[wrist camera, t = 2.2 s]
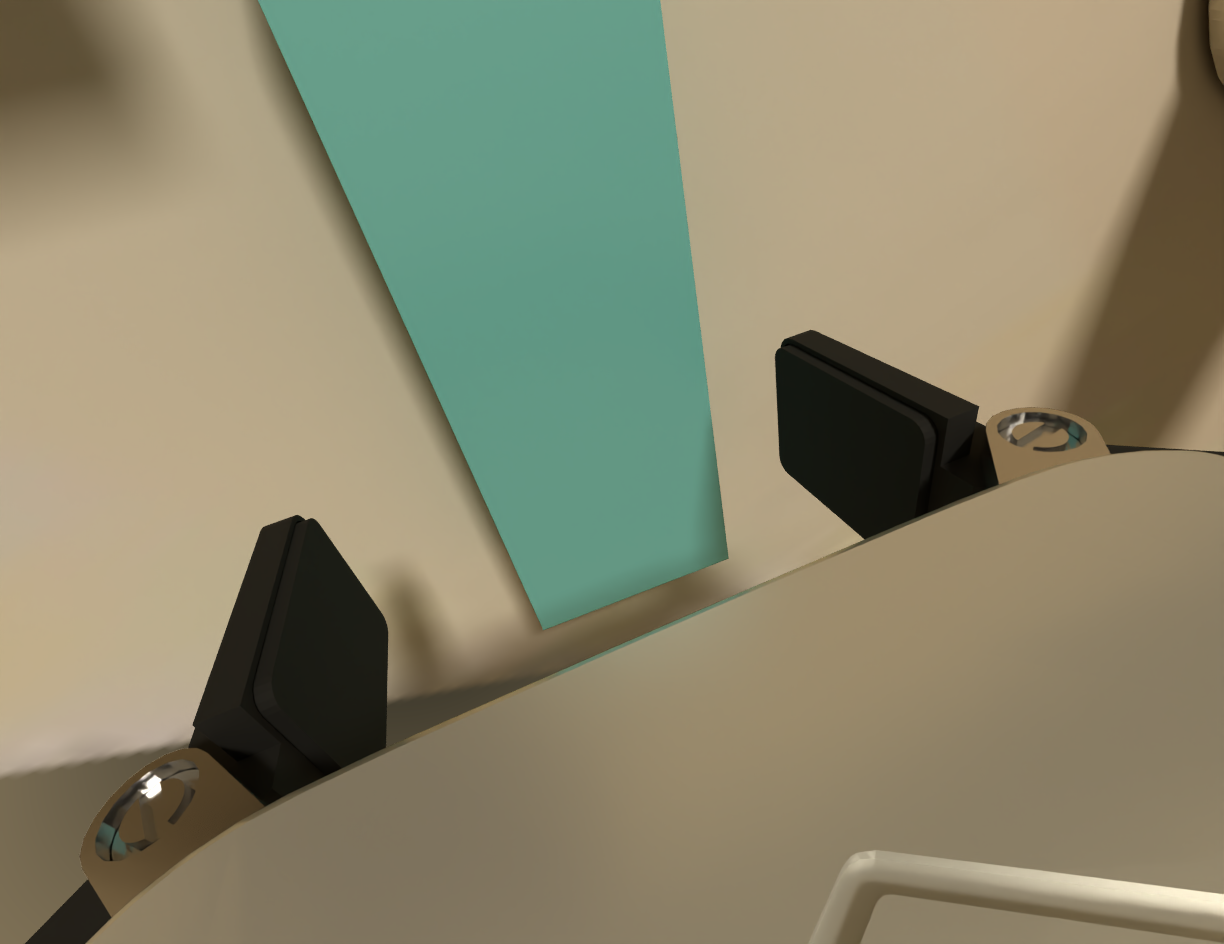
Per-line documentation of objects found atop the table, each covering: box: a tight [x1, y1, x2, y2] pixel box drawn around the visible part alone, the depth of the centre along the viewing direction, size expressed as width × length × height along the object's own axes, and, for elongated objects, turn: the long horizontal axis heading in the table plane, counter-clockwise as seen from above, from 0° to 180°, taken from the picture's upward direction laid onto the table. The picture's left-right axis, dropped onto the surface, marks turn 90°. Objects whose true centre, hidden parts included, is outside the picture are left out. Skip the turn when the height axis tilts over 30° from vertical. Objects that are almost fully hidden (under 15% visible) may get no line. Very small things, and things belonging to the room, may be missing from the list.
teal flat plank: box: [258, 0, 729, 630], centre depth 13 cm, size 6×18×4 cm, turn 13°
